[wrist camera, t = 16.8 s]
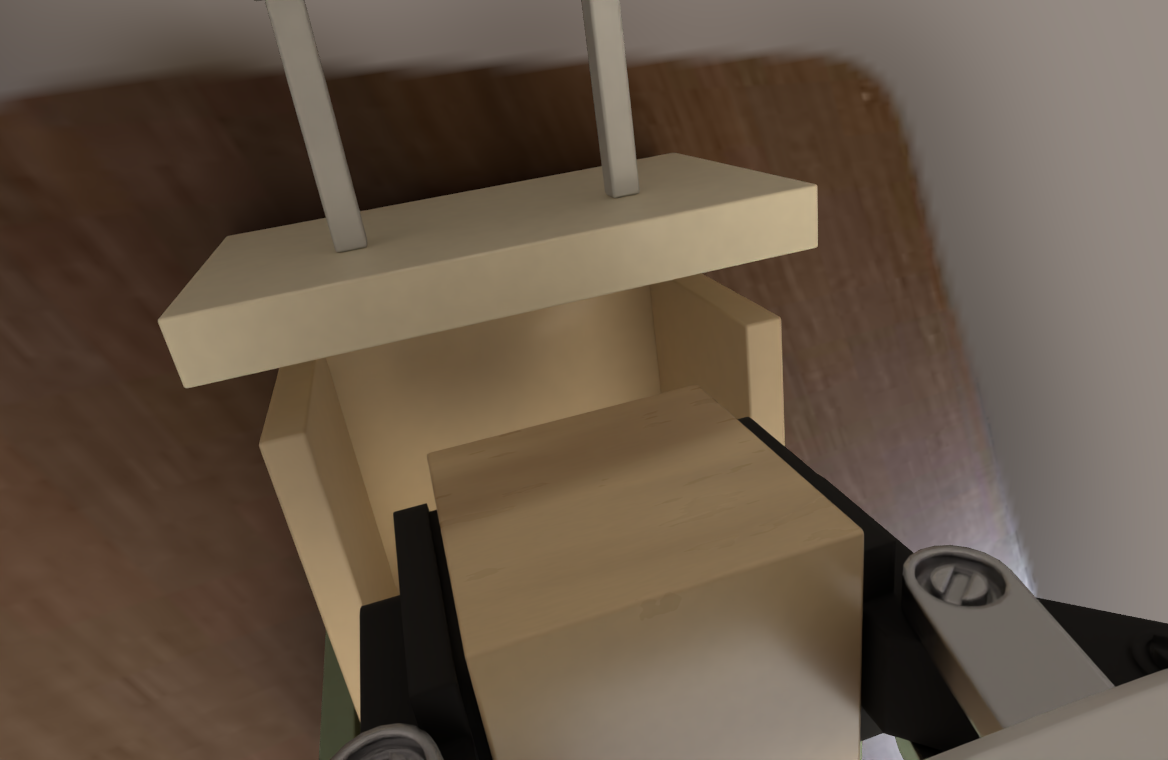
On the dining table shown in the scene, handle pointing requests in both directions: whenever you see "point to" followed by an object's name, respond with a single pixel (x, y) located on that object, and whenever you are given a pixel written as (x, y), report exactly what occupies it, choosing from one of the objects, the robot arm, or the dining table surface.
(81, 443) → the dining table surface
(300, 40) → the drawer
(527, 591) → the block
